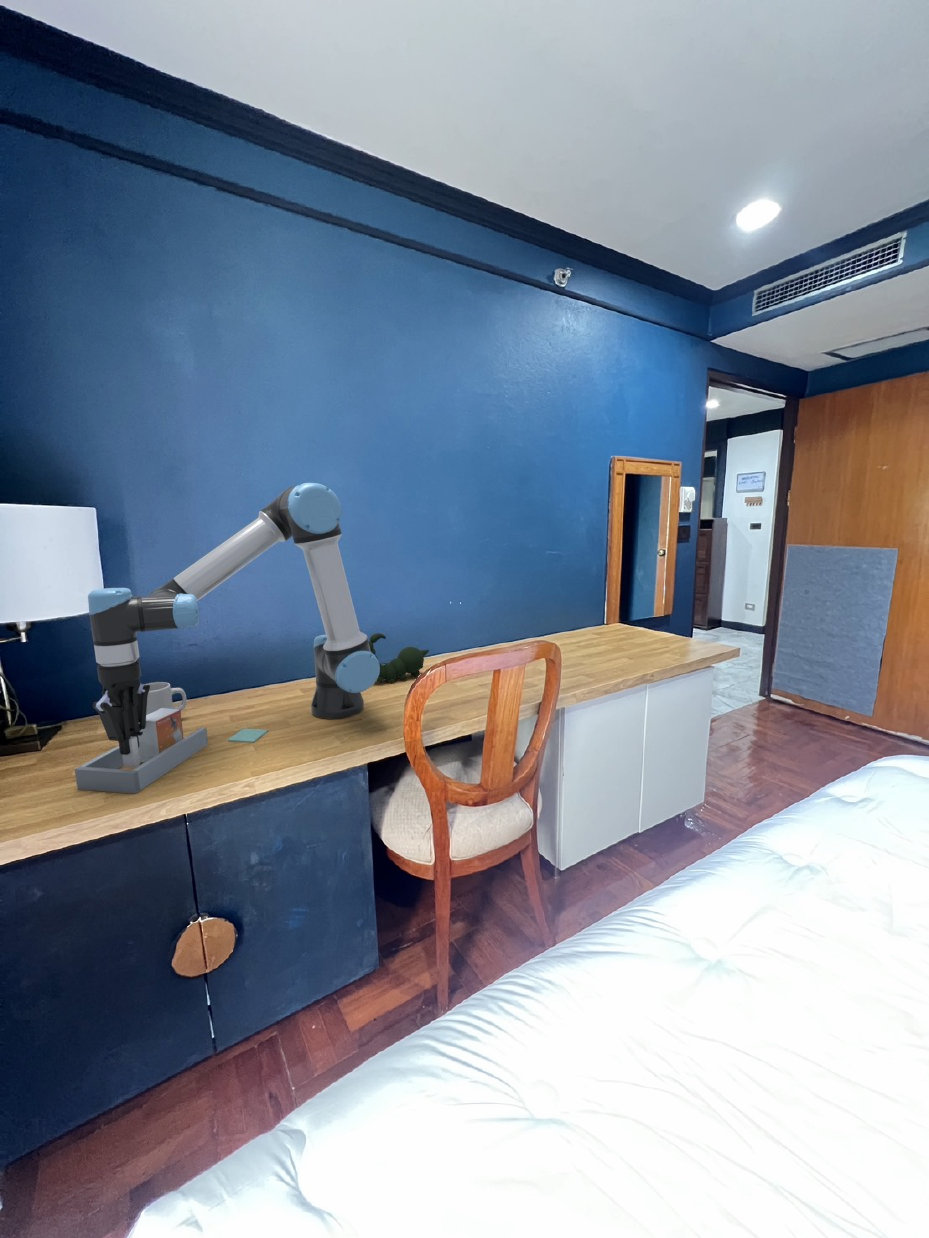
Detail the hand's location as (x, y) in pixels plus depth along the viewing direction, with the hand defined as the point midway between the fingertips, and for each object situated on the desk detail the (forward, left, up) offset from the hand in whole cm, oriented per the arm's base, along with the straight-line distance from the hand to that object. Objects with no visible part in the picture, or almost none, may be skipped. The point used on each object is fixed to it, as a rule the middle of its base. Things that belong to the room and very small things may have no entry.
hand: (132, 765), depth 109 cm
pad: (-14, -22, -2) cm, 26 cm away
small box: (0, -9, -2) cm, 9 cm away
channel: (0, -5, -2) cm, 6 cm away
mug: (+14, -27, -2) cm, 31 cm away
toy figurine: (-40, -74, -2) cm, 84 cm away
